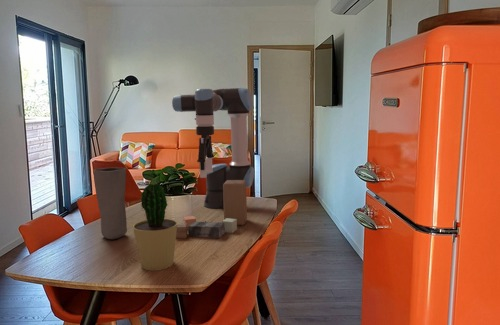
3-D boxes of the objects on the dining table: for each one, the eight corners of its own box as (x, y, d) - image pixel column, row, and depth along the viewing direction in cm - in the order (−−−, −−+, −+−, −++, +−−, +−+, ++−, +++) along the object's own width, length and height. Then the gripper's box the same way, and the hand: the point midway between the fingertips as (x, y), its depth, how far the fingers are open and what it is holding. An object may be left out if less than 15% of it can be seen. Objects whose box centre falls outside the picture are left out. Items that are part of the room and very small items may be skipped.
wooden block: (247, 219, 205) (246, 179, 202) (244, 225, 195) (244, 183, 192) (227, 219, 206) (226, 179, 203) (223, 225, 196) (222, 183, 193)
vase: (93, 237, 180) (88, 169, 176) (119, 231, 189) (115, 166, 185) (107, 244, 172) (103, 172, 168) (134, 236, 181) (130, 168, 177)
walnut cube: (175, 234, 183) (175, 223, 182) (187, 234, 183) (186, 223, 183) (174, 238, 178) (174, 227, 177) (186, 238, 178) (185, 226, 178)
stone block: (196, 230, 189) (196, 219, 189) (226, 233, 185) (226, 221, 184) (188, 236, 181) (187, 224, 180) (219, 239, 177) (219, 227, 176)
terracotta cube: (183, 227, 194) (183, 217, 193) (194, 226, 195) (193, 215, 195) (185, 230, 189) (185, 219, 188) (196, 229, 191) (196, 218, 190)
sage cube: (226, 228, 191) (226, 218, 190) (236, 229, 189) (236, 219, 188) (222, 231, 186) (222, 221, 185) (232, 232, 184) (232, 222, 184)
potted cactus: (182, 256, 157) (178, 177, 153) (175, 272, 142) (171, 185, 137) (141, 257, 157) (136, 178, 152) (130, 273, 141) (124, 186, 137)
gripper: (202, 124, 189) (203, 170, 192) (189, 127, 165) (191, 179, 168) (218, 124, 189) (219, 170, 192) (208, 127, 164) (209, 180, 167)
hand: (206, 175), depth 180 cm, fingers open, 13 cm apart
